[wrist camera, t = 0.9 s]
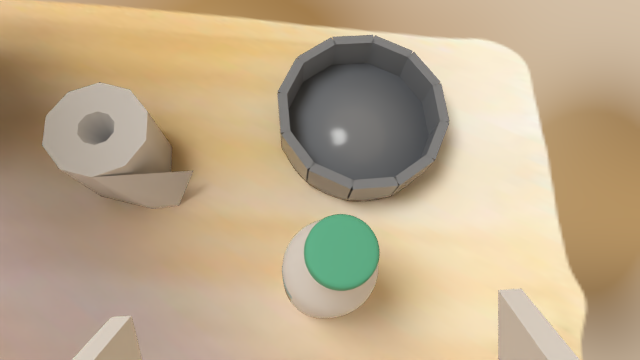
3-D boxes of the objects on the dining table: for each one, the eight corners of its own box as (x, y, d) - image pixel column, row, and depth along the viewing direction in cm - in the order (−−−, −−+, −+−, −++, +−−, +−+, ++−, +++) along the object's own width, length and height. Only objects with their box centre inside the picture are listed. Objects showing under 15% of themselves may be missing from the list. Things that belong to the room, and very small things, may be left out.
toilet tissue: (191, 218, 45) (168, 196, 37) (71, 188, 46) (23, 160, 37) (217, 143, 48) (201, 107, 40) (104, 115, 48) (66, 74, 40)
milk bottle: (371, 270, 45) (430, 235, 26) (330, 334, 43) (360, 346, 24) (312, 228, 46) (327, 164, 27) (268, 288, 44) (251, 264, 25)
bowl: (286, 207, 46) (285, 194, 42) (274, 65, 52) (273, 39, 47) (445, 194, 48) (462, 180, 43) (417, 57, 53) (430, 32, 49)
